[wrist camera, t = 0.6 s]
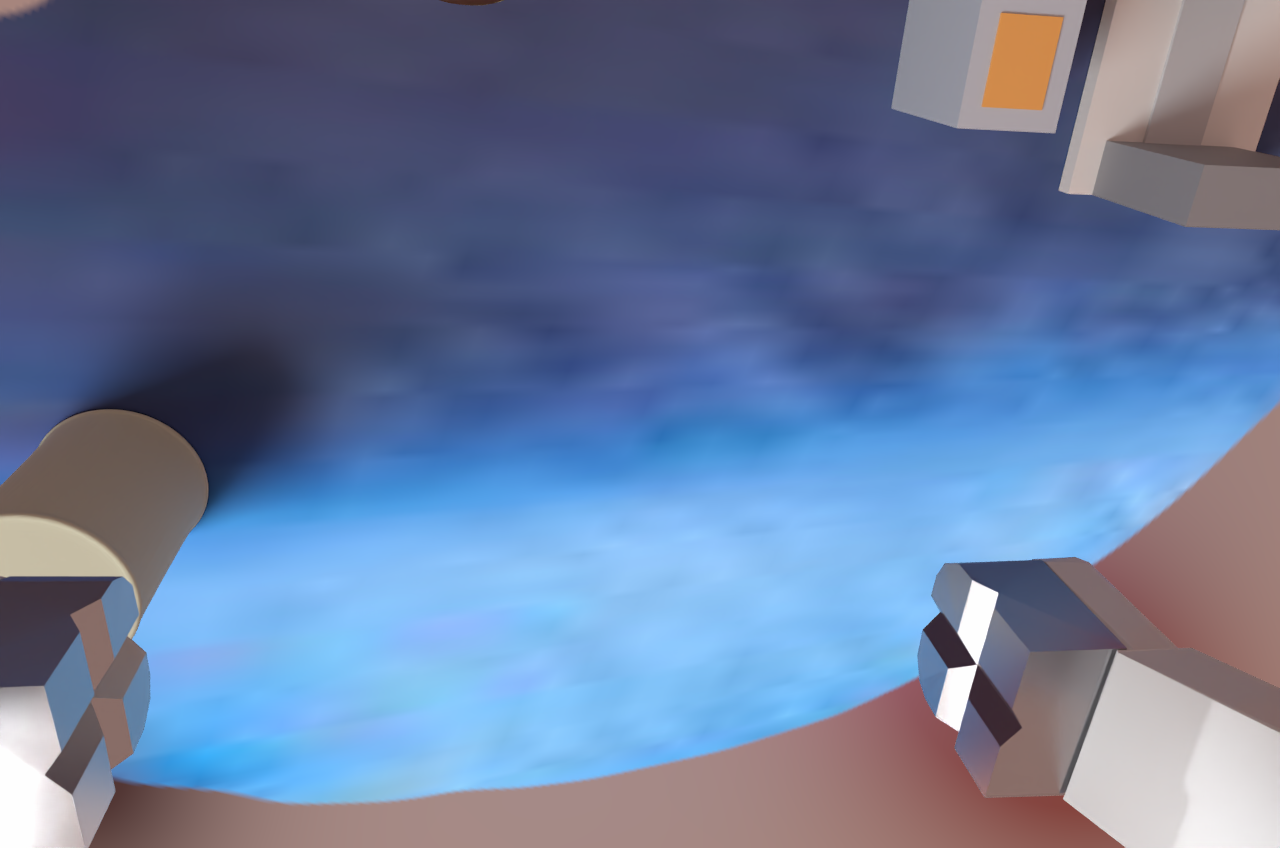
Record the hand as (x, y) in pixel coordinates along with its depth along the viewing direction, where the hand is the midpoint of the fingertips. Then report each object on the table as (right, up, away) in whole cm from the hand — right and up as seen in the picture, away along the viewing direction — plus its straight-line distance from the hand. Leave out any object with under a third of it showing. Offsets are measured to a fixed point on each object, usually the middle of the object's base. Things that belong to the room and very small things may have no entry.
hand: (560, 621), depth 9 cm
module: (+17, +22, +40) cm, 49 cm away
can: (-29, -1, +44) cm, 53 cm away
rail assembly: (+31, +22, +42) cm, 57 cm away
